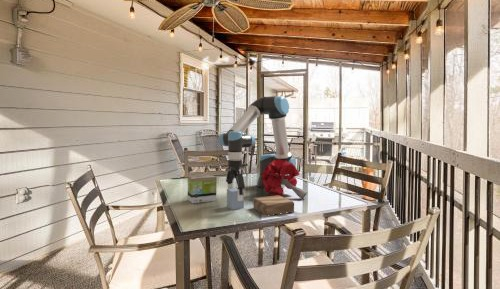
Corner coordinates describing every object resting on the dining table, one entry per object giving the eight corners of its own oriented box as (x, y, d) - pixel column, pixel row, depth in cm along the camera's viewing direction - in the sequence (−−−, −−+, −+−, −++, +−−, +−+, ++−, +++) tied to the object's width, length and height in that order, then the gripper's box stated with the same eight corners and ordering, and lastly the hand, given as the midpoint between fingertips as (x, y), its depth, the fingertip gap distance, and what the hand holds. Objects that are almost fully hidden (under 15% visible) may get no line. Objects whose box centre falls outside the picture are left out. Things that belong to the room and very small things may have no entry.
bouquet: (302, 204, 204) (266, 177, 215) (320, 175, 195) (281, 149, 206) (289, 215, 186) (250, 185, 197) (307, 183, 177) (266, 154, 188)
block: (227, 206, 175) (226, 188, 174) (238, 204, 178) (238, 187, 178) (232, 209, 169) (231, 191, 168) (243, 208, 172) (243, 190, 171)
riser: (253, 208, 172) (253, 197, 172) (279, 205, 179) (279, 194, 178) (266, 217, 158) (266, 205, 157) (294, 213, 164) (294, 201, 164)
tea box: (192, 204, 180) (192, 178, 179) (187, 200, 189) (187, 175, 188) (217, 200, 187) (216, 176, 186) (211, 197, 196) (210, 173, 195)
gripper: (220, 157, 181) (220, 193, 183) (238, 162, 159) (238, 204, 160) (232, 156, 184) (232, 192, 186) (251, 161, 162) (251, 202, 164)
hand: (235, 197), depth 173 cm, fingers open, 13 cm apart
